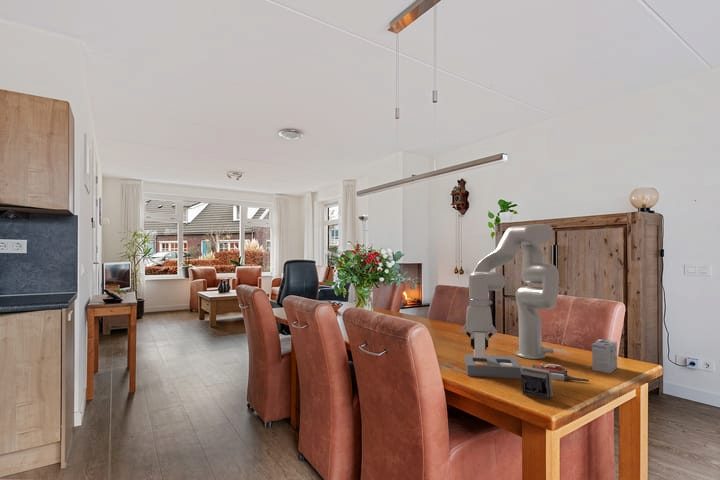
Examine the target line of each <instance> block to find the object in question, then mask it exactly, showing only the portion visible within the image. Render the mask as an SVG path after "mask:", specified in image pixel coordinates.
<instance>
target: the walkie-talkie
mask: <svg viewBox="0 0 720 480" xmlns="http://www.w3.org/2000/svg"><path fill="white" fill-rule="evenodd" d="M531 368H535V369H541V370H547V371H549V372H550V373H551V380H555V381H562V382H565V380H567V381H576V382H586V383H587V382H590V380H589V379H588V378H582V377H581V378H579V377H573V376H568V370H567V369H566V368H565V367H563V366H562V365H560V364H554V363H548V364H546V365H543V363H540V364H532V367H531Z"/></svg>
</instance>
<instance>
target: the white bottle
mask: <svg viewBox="0 0 720 480" xmlns="http://www.w3.org/2000/svg"><path fill="white" fill-rule="evenodd" d="M474 344H475V349H473V354H474V357H475V358H485V355H486V350H485V332H474Z"/></svg>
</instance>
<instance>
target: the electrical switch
mask: <svg viewBox="0 0 720 480" xmlns="http://www.w3.org/2000/svg"><path fill="white" fill-rule="evenodd" d="M520 371H521V379H520V382H521V389H522V391H521V392H522V395H524V394H526V395H525V396H528V395H531V396H530V397H533V396H535V397H534V398H537V397H539V398H538V399H542V398H543V400H547V399H548V400H549V398H552V397H553V395H554V393H553V384H552V383H553V382H552V379H551V373H550V372H549V371H547V370H541V369H535V368H532V367H530V366H522V365H521V368H520Z"/></svg>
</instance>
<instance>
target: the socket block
mask: <svg viewBox="0 0 720 480" xmlns="http://www.w3.org/2000/svg"><path fill="white" fill-rule="evenodd" d="M464 365H465V369H466V374H467V376H469V377H486V378H487V377H488V378H503V379H517V380H518V379H520V380H521V371H520V368H521V367H522V365H521V364H520V362H519V361H518V360H517V358H516V356H513V355H512V356H511V355H494V354H493V355H491V354H485V358H475V357H474V353H472V354H471V353H465V354H464Z"/></svg>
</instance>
